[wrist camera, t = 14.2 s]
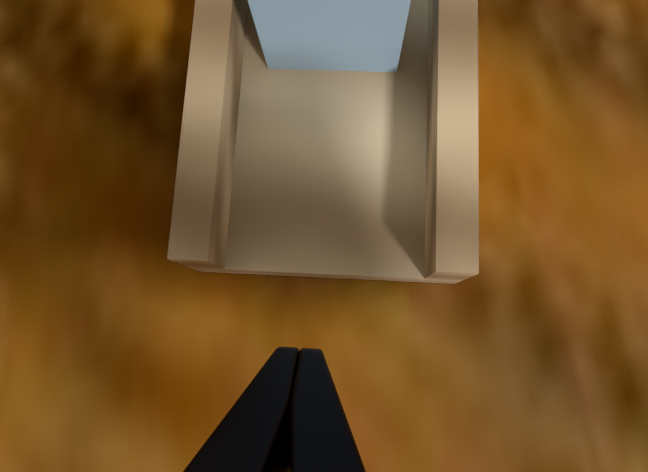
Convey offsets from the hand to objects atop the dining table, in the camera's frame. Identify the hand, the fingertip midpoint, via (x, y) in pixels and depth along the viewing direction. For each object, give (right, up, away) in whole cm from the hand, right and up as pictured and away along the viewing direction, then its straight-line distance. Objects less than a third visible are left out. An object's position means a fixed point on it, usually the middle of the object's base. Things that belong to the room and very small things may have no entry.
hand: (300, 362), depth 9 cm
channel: (+1, +8, +9) cm, 12 cm away
